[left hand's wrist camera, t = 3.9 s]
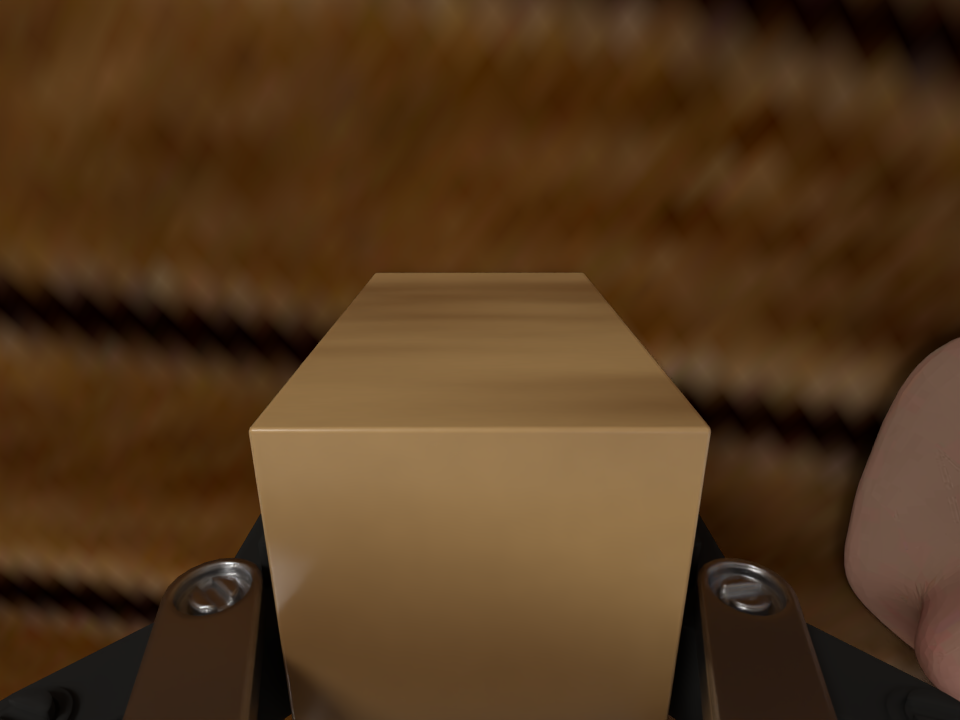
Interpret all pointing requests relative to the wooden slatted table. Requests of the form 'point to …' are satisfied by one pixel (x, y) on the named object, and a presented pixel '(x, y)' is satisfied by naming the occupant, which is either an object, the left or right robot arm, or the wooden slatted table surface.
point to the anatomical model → (915, 519)
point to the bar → (479, 506)
